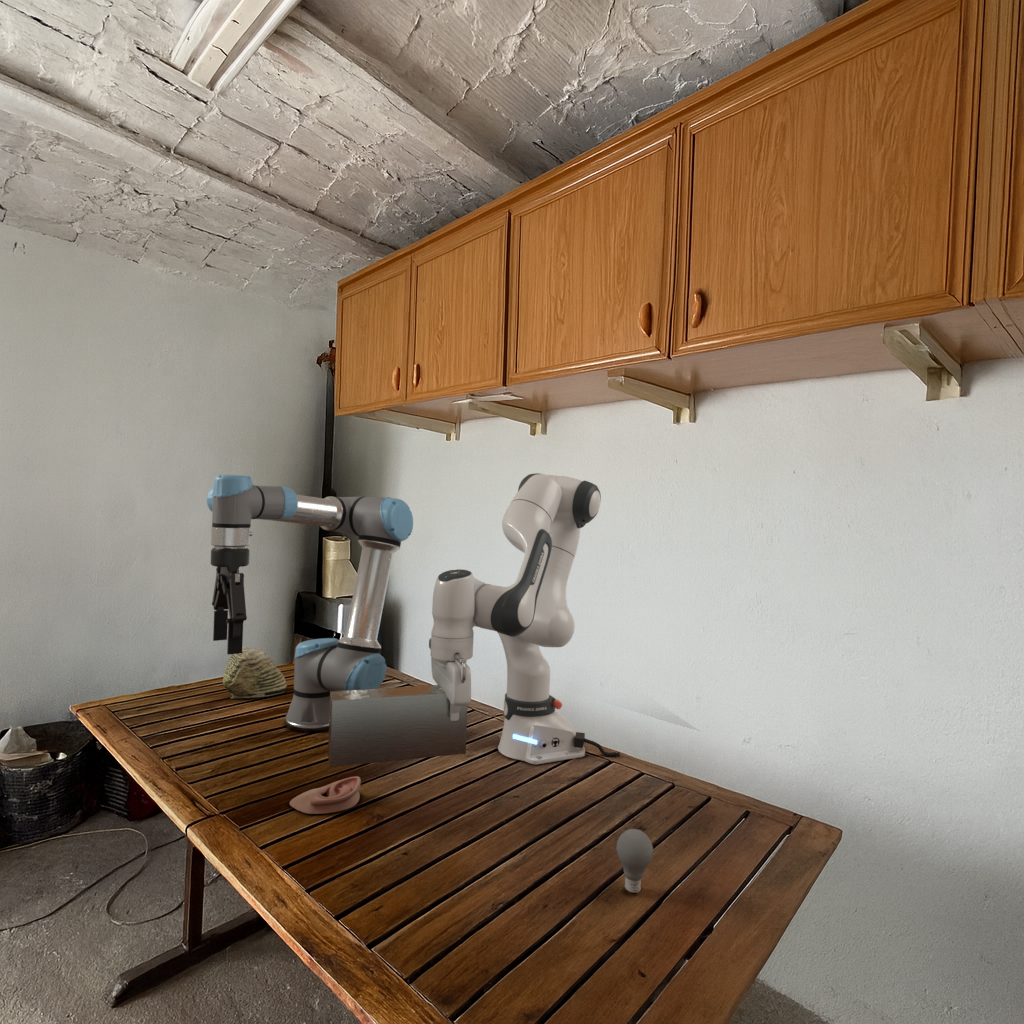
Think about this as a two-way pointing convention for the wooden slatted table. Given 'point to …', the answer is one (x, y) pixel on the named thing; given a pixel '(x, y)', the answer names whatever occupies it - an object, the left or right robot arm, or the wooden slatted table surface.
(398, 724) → the box
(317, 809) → the anatomical model
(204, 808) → the wooden slatted table surface
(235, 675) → the fossil
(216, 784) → the wooden slatted table surface
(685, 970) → the wooden slatted table surface
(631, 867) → the light bulb
